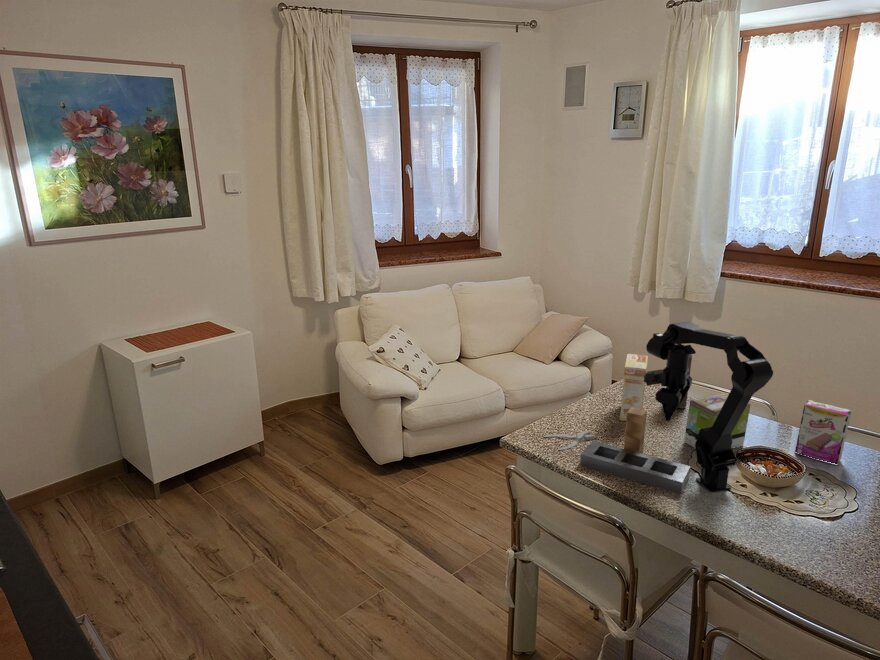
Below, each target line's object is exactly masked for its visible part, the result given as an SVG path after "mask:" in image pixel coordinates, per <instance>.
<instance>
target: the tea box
mask: <svg viewBox="0 0 880 660" xmlns="http://www.w3.org/2000/svg"><path fill="white" fill-rule="evenodd" d="M728 395H729V393H727V392H720V393H717V394H711V395H707V396H702V397H698V398H697V397H696V398H692V399H690V401H689V406H688V413H687V420H686V425H685V431H684V439H683V442H684V443H685V444H688V445H689V446H691V447H693V448H694V449H696V447H695V443H696V441H697V440H696V439H695V438H696V437H697V436H698V434H699V431H700V429H701V428H705V427H710V426H712V425H713V423H714V421H715V420H716V418H717V416H718V414H719V412H720V410H721V408H722V406H723V404H724V403H725V401H726V399H727V397H728ZM750 410H751V403H750V402H749V403H748V404H747V406H746V408H745V410H744V412H743V413H742V415H741V417H740V419H739V420H738V422H737V424H736V426H735V428H734V429H733V431H732V433H731V437H732V445H731V448H733V449H735V448H734V447H737V448H741V447H740V446H742V447H744V442H745V438H746V432H747V426H748V422H749V414H750Z"/></svg>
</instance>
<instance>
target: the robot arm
mask: <svg viewBox="0 0 880 660" xmlns="http://www.w3.org/2000/svg"><path fill="white" fill-rule="evenodd" d="M684 344H686V345H684ZM691 344H695V345H700V346H704V347H708V348H714V349H717V350H723V352H724V353H725V354H726V362H727V363H726V364H727V366H728V367H729V369H730V370H731V372H732V373H731V377H730V380H731V384H732V387H731V390H730V392H729V393H728V394H729V395H728V397H727V399H726V401H725V403H724V404H723V406H722V408H721V410H720V412H719V414H718V416H717V418H716V420H715V421H714V423H713V425H712V426H710V427H705V428H701V429H700V431H699V434H698V436H697V437H696V438H695V439H696V440H697V441H696V443H695V447H696V448H695V454H696V460H697V464H698V465H700V468H701V470H700V477H696V478H695V481H696V482H698V483H699V484H700V485H701V486H703V487H704V489H706V490H708V491H709V492H712V493H713V492H715V493H716V492H719V491H727V490H732V486H731V485H730V484H728V478H729V472H730V468H729V467H731V466H735V465H737V463H738V458H737V456H736V454H735V453H734V449H732V448H731V445H732V437H731V433H732V431H733V429H734V428H735V426H736V424H737V422H738V420H739V419H740V417H741V415H742V413H743V412H744V410H745V408H746V406H747V404H748V403H750V401H751V399H752V397H753V396H754V394H756V393H757V392H758V391H759V390H761V389H763V388H764V387H765V386H766V385H767V383H768V382H769V381H771V379H772V378H773V375H774V370H773V367H772V365H771V363H770V362H769V361H768V360H767V358H766V357H765V355H764V354H763V353H762V352H761V351H760V350H759V349H758V348H756V347H755V346H753V345H752V344H750V342H749V341H748V339H747V338H746V337H745V336H744V335H741V334H731V333H727V332H720V331H716V330H715V331H714V330H709V329H704V328H702V327H700V326H699V324H695V323H693V322H692V321H691V322H690V321H684V322H682V321H681V322H675V323H674V322H673V323H670V324H668V326H667V328H666V330H665V331H664V333H659V332H656V333H653V334H652V337H651V338H650V339H649V340H648V342H647V344H646V347H645V348H646V351H647V353H648V354H649V355H652V356H654V357H656V358H658V359H660V360H663V361H666V366H665V367H664V368H663V369H656V370H649V371H647V372H646V374H645V375H644V382H645V386H648V387H649V386H653V385H658V384H660V386H661V388H658V389H657V391H656V393H655V398H654V400H656V401H657V402H658V403H660V404H661V405H662V409H663V410H662V411H663V414H664V420H665V421H667V422H670V421H671V419H672V417H673V415H674V414H675V412H676V411H677V410H678V409H679V408H678V407H679V405H680V404H681V402H682V400H683V399H684V397H685V395H686V394H687V392H688V393H689V391H690V388H691V387H692V383H693V378H692V377H691V374H690V375H687V373H688V371H689V368H688V361H689V355H690V354H691V355H696V353H697V351H696V350H695V349H694V348H693V346H692V345H691ZM738 352H739V353H740V354H741V355H743V356H744V357H745V358H746V359H748V360H744V361H741V360H740V358H739V355H738ZM687 384H688V386H686V385H687ZM666 386H667V388H666ZM668 388H670V389H668Z"/></svg>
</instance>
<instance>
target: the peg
mask: <svg viewBox="0 0 880 660" xmlns="http://www.w3.org/2000/svg"><path fill="white" fill-rule="evenodd" d="M647 414H648V411H647V410H645V409H638V408H633V407H631V409H630V410H629V411H628V412H627V419H626V421H625V432H624V444H623V449H626V450H630V451H634V452H637V453H641V454H644V445H645V436H646V435H645V434H646V424H647Z"/></svg>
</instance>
